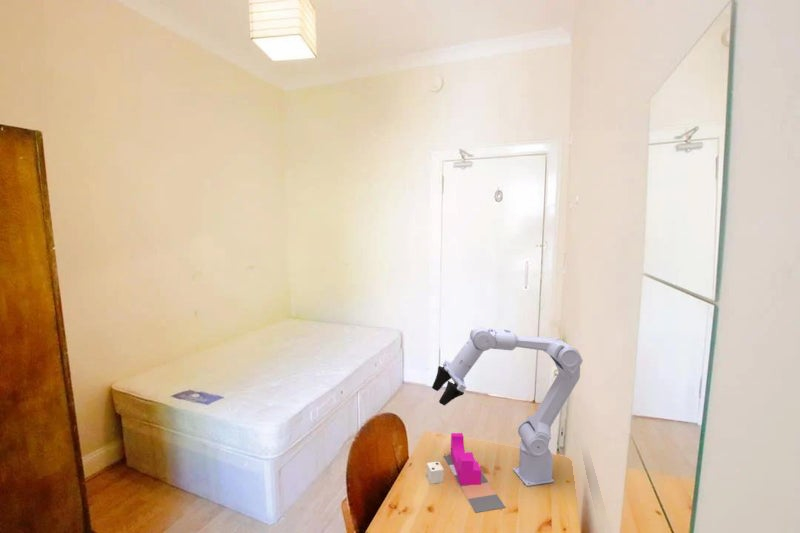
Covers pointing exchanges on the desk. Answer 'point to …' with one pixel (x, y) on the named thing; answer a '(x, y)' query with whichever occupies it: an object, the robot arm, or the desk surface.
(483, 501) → the board
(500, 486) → the desk surface
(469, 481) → the toy block
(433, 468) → the die
